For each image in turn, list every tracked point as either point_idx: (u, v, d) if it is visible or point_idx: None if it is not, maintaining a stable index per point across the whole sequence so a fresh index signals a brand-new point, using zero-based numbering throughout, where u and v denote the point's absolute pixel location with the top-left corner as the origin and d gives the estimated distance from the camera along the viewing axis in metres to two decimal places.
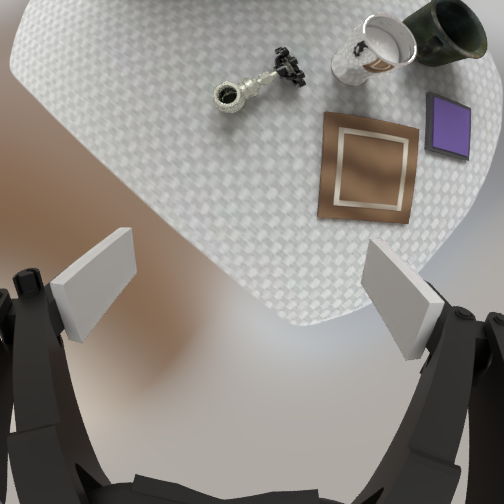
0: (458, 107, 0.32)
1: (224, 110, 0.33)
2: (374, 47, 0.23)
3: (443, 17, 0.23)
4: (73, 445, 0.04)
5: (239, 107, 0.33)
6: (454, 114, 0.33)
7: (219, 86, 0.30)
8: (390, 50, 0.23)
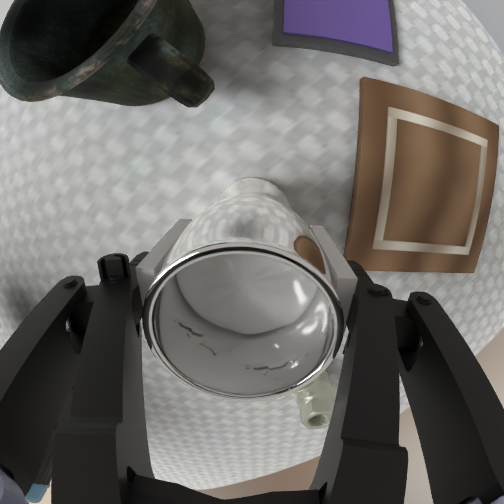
0: None
1: None
2: (247, 290, 0.12)
3: (71, 30, 0.11)
4: (129, 445, 0.04)
5: (332, 392, 0.25)
6: None
7: (307, 425, 0.24)
8: None
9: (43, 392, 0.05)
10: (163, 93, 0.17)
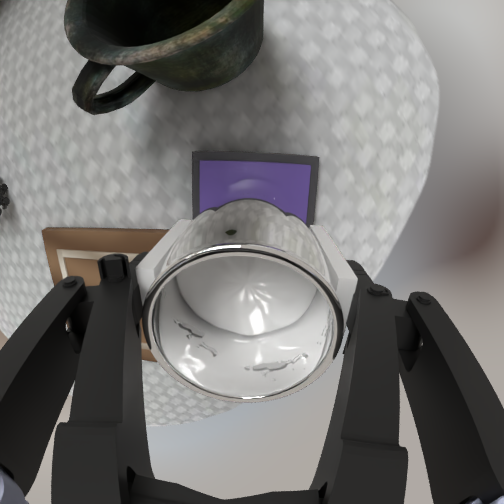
0: (272, 166, 0.21)
1: None
2: (247, 291, 0.12)
3: None
4: (129, 445, 0.04)
5: None
6: None
7: None
8: None
9: (43, 392, 0.05)
10: None
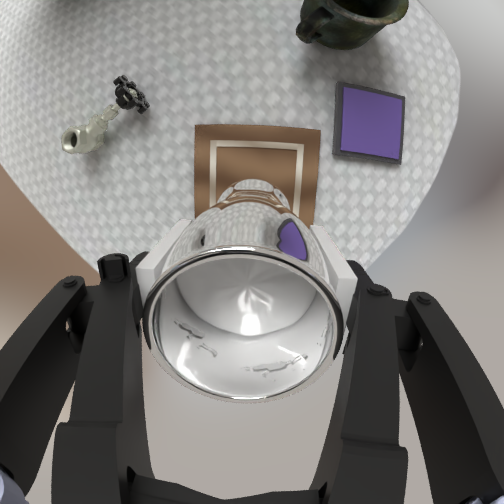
0: (383, 97, 0.29)
1: None
2: (247, 292, 0.12)
3: None
4: (129, 445, 0.04)
5: (89, 147, 0.31)
6: (376, 106, 0.30)
7: (64, 133, 0.28)
8: None
9: (43, 392, 0.05)
10: None
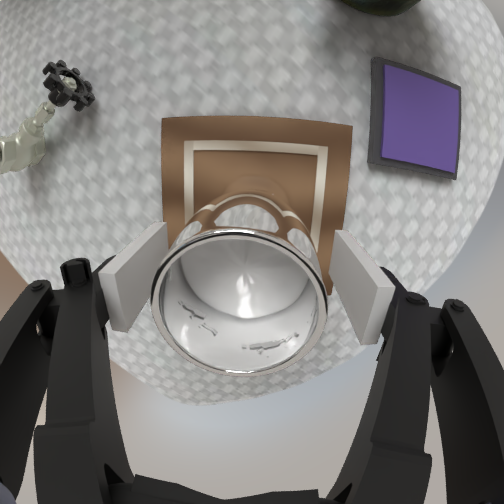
0: (436, 84, 0.18)
1: None
2: (245, 276, 0.14)
3: None
4: (105, 444, 0.04)
5: (21, 163, 0.19)
6: (428, 96, 0.18)
7: None
8: None
9: (21, 393, 0.05)
10: None
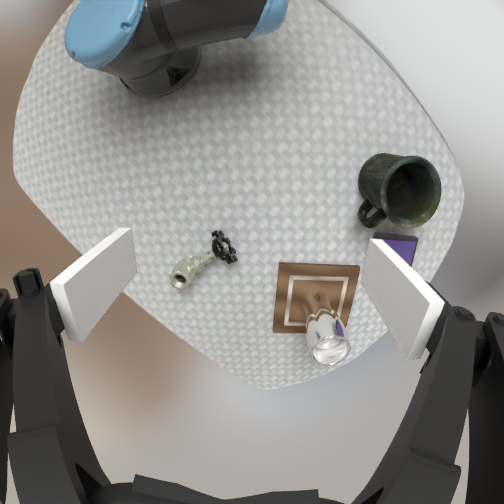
0: (403, 242, 0.49)
1: None
2: (326, 338, 0.45)
3: None
4: (73, 445, 0.04)
5: None
6: (398, 249, 0.49)
7: (173, 275, 0.47)
8: None
9: None
10: (362, 192, 0.45)
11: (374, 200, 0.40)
